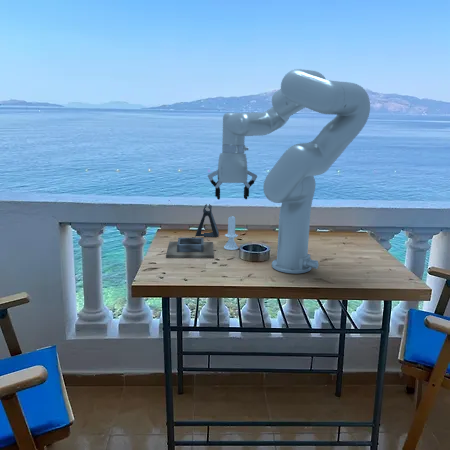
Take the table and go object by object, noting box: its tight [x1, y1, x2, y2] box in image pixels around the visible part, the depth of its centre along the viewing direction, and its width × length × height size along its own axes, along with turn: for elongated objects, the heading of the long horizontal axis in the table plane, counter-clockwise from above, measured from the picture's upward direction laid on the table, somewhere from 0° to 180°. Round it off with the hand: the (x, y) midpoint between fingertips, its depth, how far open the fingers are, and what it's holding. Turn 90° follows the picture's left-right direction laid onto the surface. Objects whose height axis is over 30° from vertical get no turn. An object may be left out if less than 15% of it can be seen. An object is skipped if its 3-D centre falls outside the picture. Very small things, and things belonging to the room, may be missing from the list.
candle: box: [223, 215, 239, 251], centre depth 164 cm, size 5×5×12 cm
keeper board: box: [165, 237, 215, 259], centre depth 160 cm, size 16×16×4 cm
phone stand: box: [194, 203, 220, 238], centre depth 180 cm, size 9×6×12 cm, turn 88°
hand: (232, 198), depth 161 cm, fingers open, 9 cm apart
